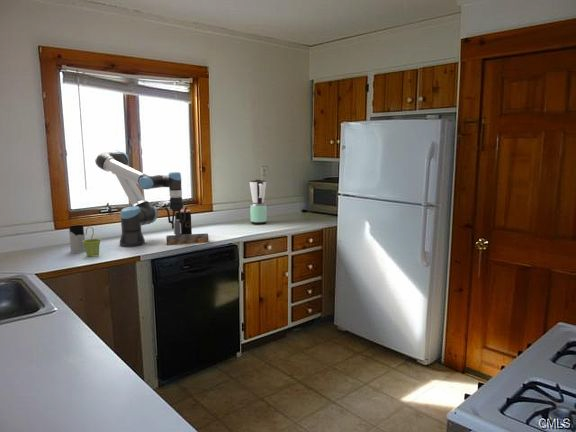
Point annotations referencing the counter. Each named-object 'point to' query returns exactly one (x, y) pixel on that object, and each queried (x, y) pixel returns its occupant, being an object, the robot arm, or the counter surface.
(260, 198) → the mint green blender
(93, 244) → the plant pot
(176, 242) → the block
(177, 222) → the fader
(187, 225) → the coffee jar
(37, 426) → the counter surface
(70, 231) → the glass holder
